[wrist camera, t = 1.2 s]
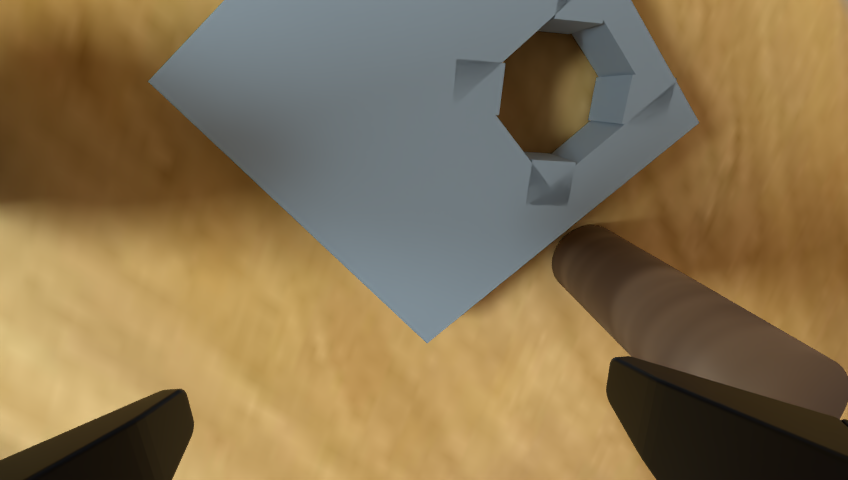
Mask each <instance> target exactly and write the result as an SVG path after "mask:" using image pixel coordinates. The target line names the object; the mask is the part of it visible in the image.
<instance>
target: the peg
mask: <svg viewBox="0 0 848 480" xmlns="http://www.w3.org/2000/svg"><path fill="white" fill-rule="evenodd" d="M552 269H553V273H554V276H555V278H556V279H557V281H558V282H559V283H560V284H561V285H562V286H563V287H564V288H565V289H566V290H567V291H568V292H569V293H570V294H571V295H572V296H573V297H574V298H575V299H576V300H577V301H578V302H579V303H580V304H581V305H582V306H583V307H584V309H585V310H586V311H587V312H588V313H589V314H590V315H591V316H592V317H593V318H594V319H595V320H596V321H597V322H598V323H599V324H600V325H601V326H602V327H603V328H604V329H605V330H606V331H607V332H608V333H609V334H610V335H611V336H612V337H613V338H614V339H615V340H616V341H617V342H618V343H619V344H620V345H621V346H622V347H623V348H624V349H625V350H626V351H627V352H628V353H629V354H630V356H631V357H635V358H638V359H641V360H645V361H648V362H652V363H655V364H658V365H662V366H665V367H668V368H672V369H675V370H678V371H682V372H685V373H689V374H692V375H695V376H699V377H702V378H705V379H709V380H712V381H716V382H719V383H722V384H726V385H729V386H732V387H736V388H739V389H742V390H746V391H749V392H753V393H756V394H759V395H763V396H766V397H769V398H773V399H776V400H780V401H783V402H786V403H790V404H793V405H796V406H800V407H803V408H806V409H810V410H813V411H817V412H820V413H823V414H827V415H830V416H833V417H837V418H838V419H840V417H841V416H842V414H843V412H844V410H845V407H846V405H847V402H848V376H847V374H846V372H845V371H844V369H843V368H842V367H841V366H840V365H839V364H838V363H837V362H835V361H833V360H832V359H830V358H828V357H827V356H825V355H823V354H821V353H820V352H818V351H816V350H815V349H813V348H811V347H809V346H808V345H806V344H804V343H802V342H801V341H799V340H797V339H796V338H794V337H792V336H790V335H789V334H787V333H785V332H784V331H782V330H780V329H778V328H777V327H775V326H773V325H771V324H770V323H768V322H766V321H765V320H763V319H761V318H759V317H758V316H756V315H754V314H752V313H751V312H749V311H747V310H746V309H744V308H742V307H740V306H739V305H737V304H735V303H733V302H732V301H730V300H728V299H727V298H725V297H723V296H721V295H720V294H718V293H716V292H714V291H713V290H711V289H709V288H708V287H706V286H704V285H702V284H701V283H699V282H697V281H696V280H694V279H692V278H690V277H689V276H687V275H685V274H683V273H682V272H680V271H678V270H677V269H675V268H673V267H671V266H670V265H668V264H666V263H664V262H663V261H661V260H659V259H658V258H656V257H654V256H652V255H651V254H649V253H647V252H645V251H644V250H642V249H640V248H639V247H637V246H635V245H633V244H632V243H630V242H628V241H626V240H625V239H623V238H621V237H620V236H618V235H616V234H614V233H613V232H611V231H609V230H607V229H606V228H603V227H600V226H594V225H591V226H584V227H580V228H578V229H575V230H573V231H572V232H570V233H569V234H567V235H566V236H565V237H564V238H563V239H562V240H561V241H560V243H559V244H558V246H557V247H556V249H555V252H554V255H553V259H552Z"/></svg>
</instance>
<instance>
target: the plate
mask: <svg viewBox="0 0 848 480" xmlns="http://www.w3.org/2000/svg"><path fill="white" fill-rule="evenodd" d="M537 31H543V32H553V33H563V34H572V35H573V37H574V38H575V40H576V42H577V43H578V45H579V46H580V48H581V50H582V51H583V53H584V54H585V56H586V57H587V59H588V61H589V62H590V64H591V65H592V67H593V69H594V70H595V72H596V73H597V75H598V77H596V82H595V87H594V93H593V98H592V103H591V108H590V113H589V118H588V120H591V121H589V122H588V123H587V124H586V125H585V126H584V127H582V128H581V129H580V130H579V131H578V132H576V133H575V134H574V135H573V136H572V137H571V138H569V139H568V140H567V141H566V142H565V143H563V144H562V145H561V146H560V147H559V148H558V149H556V150H555V151H554V152H553V153H552V154H550V153H535V152H523V150H522V149H521V148H520V146H519V145H518V144H517V142H516V141H515V140H514V138H513V137H512V136H511V135H510V133H509V132H508V131H507V129H506V128H505V127H504V125H503V124H502V123H501V121H500V120H499V119H498V117H497V116H496V115H499V111H500V103H501V95H502V87H503V79H504V71H505V63H502V62H503V61H505V60H506V59H507V58H508V57H509V56H510V55H511V54H512V53H513V52H515V51H516V50H517V49H518V48H519V47H520V46H521V45H522V44H523V43H524V42H526V41H527V40H528V39H529V38H530V37H531V36H532V35H533V34H534V33H535V32H537ZM148 82H149V83H150V84H151V85H152V86H153V87H154V88H155V89H157V90H158V91H159V92H160V93H161V94H162V95H163V96H164V97H165V98H166V99H167V100H168V101H169V102H170V103H171V104H172V105H174V106H175V107H176V108H177V109H178V110H179V111H180V112H181V113H182V114H183V115H184V116H185V117H186V118H187V119H188V120H190V121H191V122H192V123H193V124H194V125H195V126H196V127H197V128H198V129H199V130H200V131H201V132H202V133H203V134H204V135H206V136H207V137H208V138H209V139H210V140H211V141H212V142H213V143H214V144H215V145H216V146H217V147H218V148H219V149H220V150H222V151H223V152H224V153H225V154H226V155H227V156H228V157H229V158H230V159H231V160H232V161H233V162H234V163H235V164H236V165H238V166H239V167H240V168H241V169H242V170H243V171H244V172H245V173H246V174H247V175H248V176H249V177H250V178H251V179H252V180H253V181H255V182H256V183H257V184H258V185H259V186H260V187H261V188H262V189H263V190H264V191H265V192H266V193H267V194H268V195H269V196H271V197H272V198H273V199H274V200H275V201H276V202H277V203H278V204H279V205H280V206H281V207H282V208H283V209H284V210H285V211H287V212H288V213H289V214H290V215H291V216H292V217H293V218H294V219H295V220H296V221H297V222H298V223H299V224H300V225H301V226H303V227H304V228H305V229H306V230H307V231H308V232H309V233H310V234H311V235H312V236H313V237H314V238H315V239H316V240H317V241H319V242H320V243H321V244H322V245H323V246H324V247H325V248H326V249H327V250H328V251H329V252H330V253H331V254H332V255H333V256H334V257H336V258H337V259H338V260H339V261H340V262H341V263H342V264H343V265H344V266H345V267H346V268H347V269H348V270H349V271H350V272H352V273H353V274H354V275H355V276H356V277H357V278H358V279H359V280H360V281H361V282H362V283H363V284H364V285H365V286H366V287H368V288H369V289H370V290H371V291H372V292H373V293H374V294H375V295H376V296H377V297H378V298H379V299H380V300H381V301H382V302H384V303H385V304H386V305H387V306H388V307H389V308H390V309H391V310H392V311H393V312H394V313H395V314H396V315H397V316H398V317H400V318H401V319H402V320H403V321H404V322H405V323H406V324H407V325H408V326H409V327H410V328H411V329H412V330H413V331H414V332H415V333H417V334H418V335H419V336H420V337H421V338H422V339H423V340H424V341H425V342H426V343H428V342H429V341H430V340H432V339H433V338H434V337H435V336H437V335H438V334H439V333H440V332H442V331H443V330H444V329H445V328H447V327H448V326H449V325H450V324H451V323H453V322H454V321H455V320H456V319H458V318H459V317H460V316H461V315H463V314H464V313H465V312H466V311H468V310H469V309H470V308H471V307H472V306H474V305H475V304H476V303H477V302H479V301H480V300H481V299H482V298H484V297H485V296H486V295H487V294H489V293H490V292H491V291H492V290H493V289H495V288H496V287H497V286H498V285H500V284H501V283H502V282H503V281H505V280H506V279H507V278H508V277H509V276H511V275H512V274H513V273H514V272H516V271H517V270H518V269H519V268H521V267H522V266H523V265H524V264H526V263H527V262H528V261H529V260H530V259H532V258H533V257H534V256H535V255H537V254H538V253H539V252H540V251H542V250H543V249H544V248H545V247H547V246H548V245H549V244H550V243H551V242H553V241H554V240H555V239H556V238H558V237H559V236H560V235H561V234H563V233H564V232H565V231H566V230H568V229H569V228H570V227H571V226H572V225H574V224H575V223H576V222H577V221H579V220H580V219H581V218H582V217H584V216H585V215H586V214H587V213H589V212H590V211H591V210H592V209H593V208H595V207H596V206H597V205H598V204H600V203H601V202H602V201H603V200H605V199H606V198H607V197H608V196H609V195H611V194H612V193H613V192H614V191H616V190H617V189H618V188H619V187H621V186H622V185H623V184H624V183H626V182H627V181H628V180H629V179H630V178H632V177H633V176H634V175H635V174H637V173H638V172H639V171H640V170H642V169H643V168H644V167H645V166H647V165H648V164H649V163H650V162H651V161H653V160H654V159H655V158H656V157H658V156H659V155H660V154H661V153H663V152H664V151H665V150H666V149H668V148H669V147H670V146H671V145H672V144H674V143H675V142H676V141H677V140H679V139H680V138H681V137H682V136H684V135H685V134H686V133H687V132H689V131H690V130H691V129H692V128H693V127H695V126H696V125H697V124H698V123H699V121H698V119H697V117H696V116H695V114H694V112H693V110H692V109H691V107H690V105H689V103H688V101H687V100H686V98H685V96H684V94H683V92H682V91H681V89H680V87H679V85H678V83H677V82H676V78H674V76H673V74H672V73H671V71H670V69H669V67H668V65H667V64H666V62H665V60H664V58H663V57H662V55H661V53H660V51H659V49H658V48H657V46H656V44H655V42H654V40H653V39H652V37H651V35H650V33H649V31H648V30H647V28H646V26H645V24H644V22H643V21H642V19H641V17H640V15H639V13H638V12H637V10H636V8H635V6H634V5H633V3H632V1H631V0H224V1H223V2H222V3H221V4H220V5H219V6H218V8H217V9H216V10H215V11H214V12H213V13H212V14H211V15H210V16H209V17H208V18H207V19H206V20H205V21H204V22H203V23H202V25H201V26H200V27H199V28H198V29H197V30H196V31H195V32H194V33H193V34H192V35H191V36H190V37H189V38H188V39H187V40H186V42H185V43H184V44H183V45H182V46H181V47H180V48H179V49H178V50H177V51H176V52H175V53H174V54H173V55H172V56H171V57H170V59H169V60H168V61H167V62H166V63H165V64H164V65H163V66H162V67H161V68H160V69H159V70H158V71H157V72H156V73H155V75H154V76H153V77H152V78H151V79H150V80H149V81H148Z"/></svg>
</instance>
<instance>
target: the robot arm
mask: <svg viewBox="0 0 848 480" xmlns="http://www.w3.org/2000/svg"><path fill="white" fill-rule="evenodd" d="M606 392H607V397H608V400H609V402H610V404H611V406H612V408H613V410H614V411H615V413H616V415H617V417H618V418H619V420H620V422H621V424H622V425H623V427H624V429H625V431H626V432H627V434H628V436H629V438H630V439H631V441H632V443H633V445H634V446H635V448H636V450H637V451H638V453H639V455H640V456H641V458H642V460H643V461H644V462H645V464H646V465H647V467H648V468H649V470H650V471H651V473H652V474H653V475H654V477H655V478H656V480H848V420H846V419H843V420H840V419H838V418H837V417H833V416H830V415H827V414H823V413H820V412H817V411H813V410H810V409H806V408H803V407H800V406H796V405H793V404H790V403H786V402H783V401H780V400H776V399H773V398H769V397H766V396H763V395H759V394H756V393H753V392H749V391H746V390H742V389H739V388H736V387H732V386H729V385H726V384H722V383H719V382H716V381H712V380H709V379H705V378H702V377H699V376H695V375H692V374H689V373H685V372H682V371H678V370H675V369H672V368H668V367H665V366H662V365H658V364H655V363H652V362H648V361H645V360H641V359H638V358H635V357H629V356H626V357H615V358H613V359H612V360H611V362H610V367H609V373H608V380H607V387H606ZM193 429H194V421H193V416H192V412H191V409H190V405H189V401H188V397H187V394H186V392H185V391H184V390H182V389H170V390H162V391H159V392H157V393H155V394H152V395H150V396H148V397H145V398H143V399H141V400H138V401H136V402H134V403H131V404H129V405H127V406H124V407H122V408H120V409H118V410H115V411H113V412H111V413H108V414H106V415H104V416H101V417H99V418H97V419H94V420H92V421H90V422H88V423H85V424H83V425H81V426H78V427H76V428H74V429H71V430H69V431H67V432H64V433H62V434H60V435H58V436H55V437H53V438H51V439H48V440H46V441H44V442H41V443H39V444H37V445H34V446H32V447H30V448H27V449H25V450H23V451H21V452H18V453H16V454H14V455H11V456H9V457H7V458H4V459H2V460H0V480H172V479H173V476H174V474H175V472H176V470H177V468H178V465H179V463H180V461H181V459H182V456H183V454H184V452H185V450H186V447H187V445H188V443H189V441H190V439H191V436H192V433H193Z"/></svg>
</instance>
